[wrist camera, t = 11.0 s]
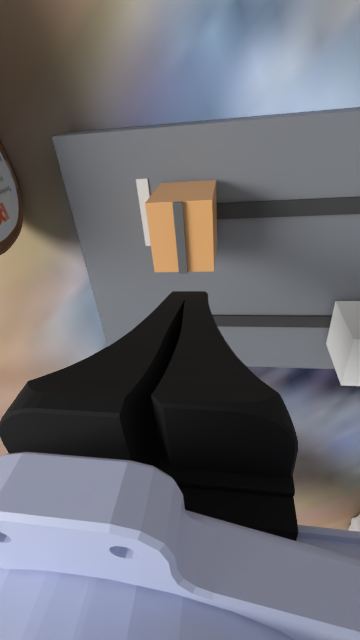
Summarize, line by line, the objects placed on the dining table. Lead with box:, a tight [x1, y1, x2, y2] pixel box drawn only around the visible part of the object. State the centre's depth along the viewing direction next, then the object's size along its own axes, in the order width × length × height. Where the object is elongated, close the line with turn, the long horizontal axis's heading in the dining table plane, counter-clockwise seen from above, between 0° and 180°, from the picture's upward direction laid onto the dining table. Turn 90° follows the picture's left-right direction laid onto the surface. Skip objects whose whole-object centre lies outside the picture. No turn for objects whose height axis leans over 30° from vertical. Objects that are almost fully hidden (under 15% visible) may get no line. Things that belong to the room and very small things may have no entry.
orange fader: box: [145, 180, 217, 274], centre depth 16 cm, size 3×3×4 cm
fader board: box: [52, 107, 360, 369], centre depth 19 cm, size 15×23×2 cm, turn 95°
